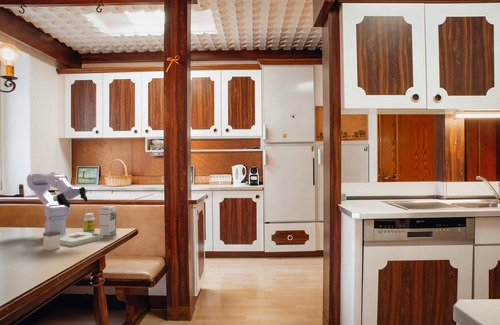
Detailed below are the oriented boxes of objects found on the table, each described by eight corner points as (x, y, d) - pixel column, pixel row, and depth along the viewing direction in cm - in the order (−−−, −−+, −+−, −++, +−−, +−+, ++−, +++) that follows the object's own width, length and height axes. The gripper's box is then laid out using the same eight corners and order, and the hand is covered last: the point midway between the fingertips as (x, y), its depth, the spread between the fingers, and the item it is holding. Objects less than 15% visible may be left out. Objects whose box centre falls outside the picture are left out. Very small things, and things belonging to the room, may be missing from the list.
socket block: (49, 242, 146) (49, 236, 146) (80, 235, 161) (81, 230, 161) (72, 246, 139) (72, 240, 139) (102, 238, 154) (103, 233, 154)
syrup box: (109, 235, 160) (109, 207, 160) (99, 235, 162) (99, 206, 162) (116, 233, 166) (116, 205, 166) (106, 232, 167) (106, 205, 167)
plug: (43, 249, 135) (43, 232, 135) (53, 246, 139) (53, 230, 139) (49, 250, 133) (49, 233, 133) (60, 247, 137) (60, 231, 137)
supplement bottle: (87, 233, 165) (87, 214, 165) (81, 232, 168) (81, 213, 168) (96, 231, 169) (97, 213, 169) (91, 230, 172) (91, 212, 172)
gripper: (48, 186, 145) (59, 200, 138) (80, 177, 156) (93, 190, 148) (50, 199, 149) (61, 213, 141) (82, 189, 159) (94, 202, 151)
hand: (78, 202), depth 145 cm, fingers open, 7 cm apart
